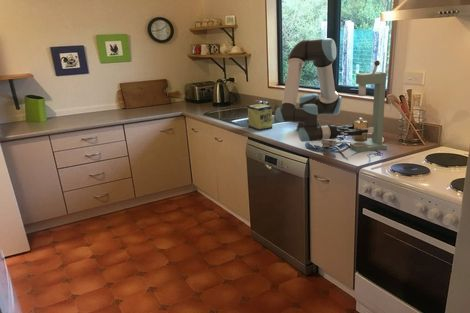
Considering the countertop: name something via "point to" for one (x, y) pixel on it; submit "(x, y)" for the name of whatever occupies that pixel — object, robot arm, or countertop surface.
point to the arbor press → (378, 109)
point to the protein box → (260, 117)
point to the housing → (360, 125)
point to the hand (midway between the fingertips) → (369, 128)
